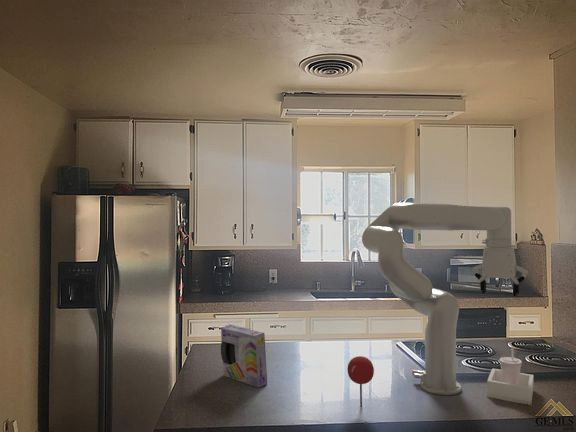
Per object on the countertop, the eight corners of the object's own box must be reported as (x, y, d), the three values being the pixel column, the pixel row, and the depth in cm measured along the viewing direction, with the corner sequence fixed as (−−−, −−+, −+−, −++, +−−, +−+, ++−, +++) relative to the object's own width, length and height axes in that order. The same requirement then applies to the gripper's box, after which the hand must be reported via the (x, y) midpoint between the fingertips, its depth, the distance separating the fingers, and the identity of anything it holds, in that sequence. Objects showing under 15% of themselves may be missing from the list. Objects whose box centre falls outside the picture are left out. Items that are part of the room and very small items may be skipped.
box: (487, 396, 140) (487, 380, 140) (492, 383, 150) (492, 368, 150) (531, 405, 133) (531, 388, 133) (533, 390, 144) (533, 375, 144)
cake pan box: (220, 375, 160) (219, 325, 160) (231, 371, 164) (230, 322, 163) (257, 389, 147) (256, 335, 147) (268, 385, 151) (267, 332, 150)
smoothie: (525, 395, 138) (524, 350, 137) (502, 394, 139) (501, 349, 138) (519, 387, 144) (518, 343, 143) (497, 386, 145) (496, 342, 145)
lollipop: (347, 401, 138) (347, 352, 137) (373, 402, 137) (372, 353, 136) (348, 413, 130) (347, 361, 130) (375, 414, 129) (374, 362, 129)
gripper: (469, 243, 154) (469, 293, 155) (526, 245, 144) (526, 299, 145) (474, 241, 160) (474, 289, 161) (529, 243, 150) (529, 294, 151)
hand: (499, 294), depth 153 cm, fingers open, 9 cm apart
